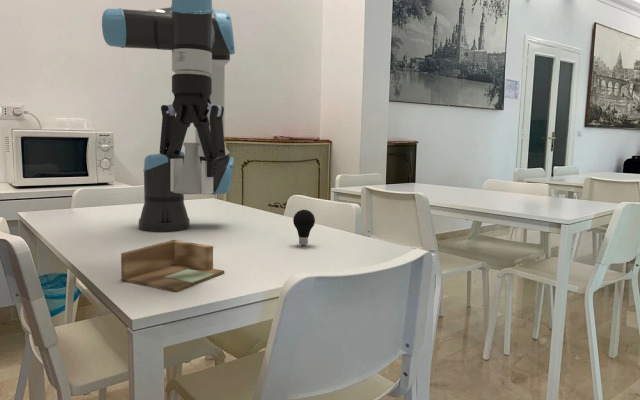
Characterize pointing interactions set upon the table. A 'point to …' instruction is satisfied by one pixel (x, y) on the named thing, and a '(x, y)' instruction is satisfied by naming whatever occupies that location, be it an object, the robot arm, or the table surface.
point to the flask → (190, 171)
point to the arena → (169, 265)
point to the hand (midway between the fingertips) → (191, 192)
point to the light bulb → (303, 225)
